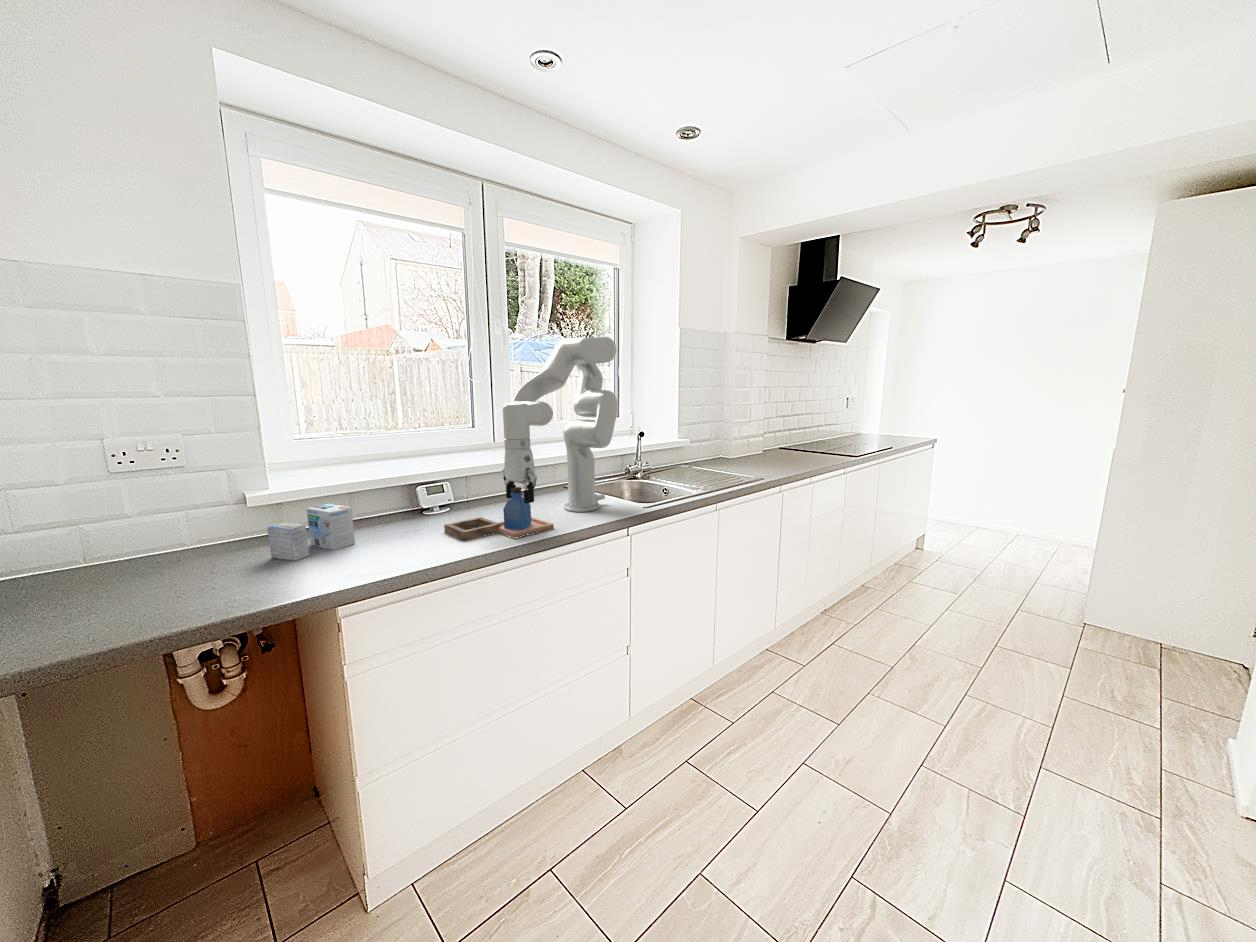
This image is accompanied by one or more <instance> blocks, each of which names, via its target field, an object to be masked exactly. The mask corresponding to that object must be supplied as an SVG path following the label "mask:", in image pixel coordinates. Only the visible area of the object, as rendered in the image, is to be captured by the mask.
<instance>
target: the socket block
mask: <svg viewBox="0 0 1256 942" xmlns="http://www.w3.org/2000/svg"><path fill="white" fill-rule="evenodd" d="M478 526H480V527H478ZM473 527H474V528H473ZM498 527H501V525H500V524H499V523H498V522H496V521H493V520H491V519H488V518H484V517H482V516H478V517H474V518H470V519H469V518H468V519H464V520H459V521H454V522H450V523H445V524H443V529H444V534H447V535H450V536H452V537H453V538H454V537H455V538H457V539H458V538H459V540H461V541H464V542H465V541H468V539H469V540H473V539H478V538H481V537H480V536H482V537H485V536H484V535H486V536H489V535H488V534H490V535H493V534H492V533H494V534H497V533H496V532H498ZM469 528H470V529H469ZM477 537H478V538H477Z"/></svg>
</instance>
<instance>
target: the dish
mask: <svg viewBox="0 0 1256 942" xmlns="http://www.w3.org/2000/svg"><path fill="white" fill-rule="evenodd" d="M497 523H499V524H500V525H501V527H498V532H499V533H498V534H500V533H502V534H501V535H503V534H505V535H508V536H511V537H514V538H515V537H520V536H523V535H527V534H531V535H533V534H532V533H535V534H538V533H537V532H539V533H542V532H541V531H543V532H546V531H545V530H547V531H550V530H549V529H551V530H554V529H555V528H554V525H555V524H554V523H553V522H548V521H546V520H543V519H539V518H536V517H533V516H531V525H530V526H528V527H527V528H526V529H524V530H517V529H505V528H504V520H502V521H498V522H497ZM505 535H504V536H505ZM508 536H507V537H508ZM527 536H528V535H527ZM511 537H510V538H511ZM523 537H524V536H523ZM520 538H521V537H520Z"/></svg>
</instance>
